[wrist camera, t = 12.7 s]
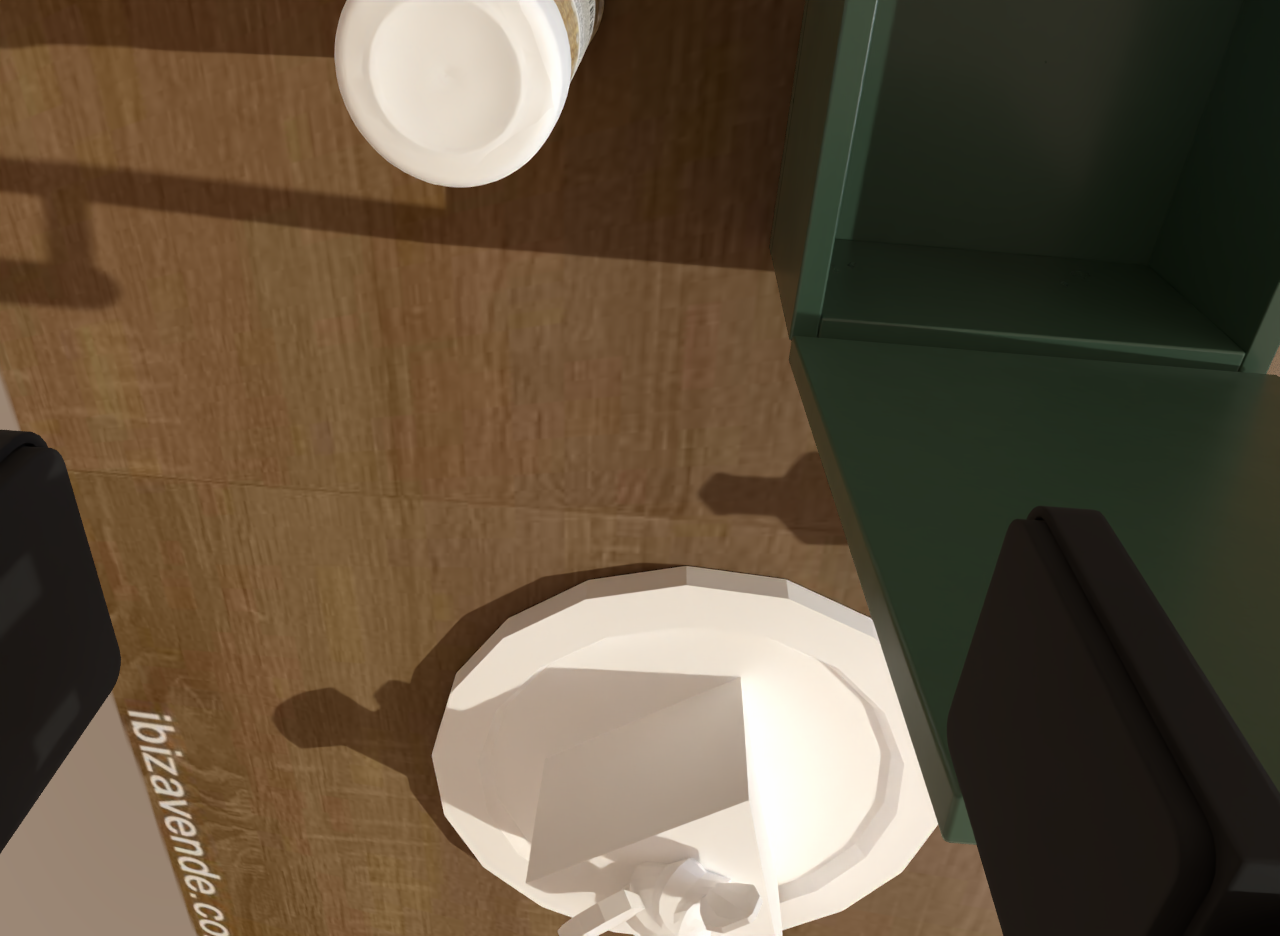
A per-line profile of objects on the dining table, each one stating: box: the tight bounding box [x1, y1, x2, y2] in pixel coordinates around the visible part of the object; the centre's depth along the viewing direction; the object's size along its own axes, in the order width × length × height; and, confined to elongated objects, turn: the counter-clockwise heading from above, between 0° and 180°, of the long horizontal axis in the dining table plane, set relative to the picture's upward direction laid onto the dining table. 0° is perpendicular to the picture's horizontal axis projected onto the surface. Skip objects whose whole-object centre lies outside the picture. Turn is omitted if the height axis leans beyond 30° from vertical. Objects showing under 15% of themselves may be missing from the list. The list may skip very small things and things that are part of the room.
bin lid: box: [789, 336, 1280, 845], centre depth 21 cm, size 18×14×5 cm
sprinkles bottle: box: [334, 0, 604, 187], centre depth 25 cm, size 5×5×14 cm
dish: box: [432, 566, 938, 936], centre depth 44 cm, size 25×25×11 cm
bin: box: [769, 0, 1280, 374], centre depth 27 cm, size 17×14×8 cm
